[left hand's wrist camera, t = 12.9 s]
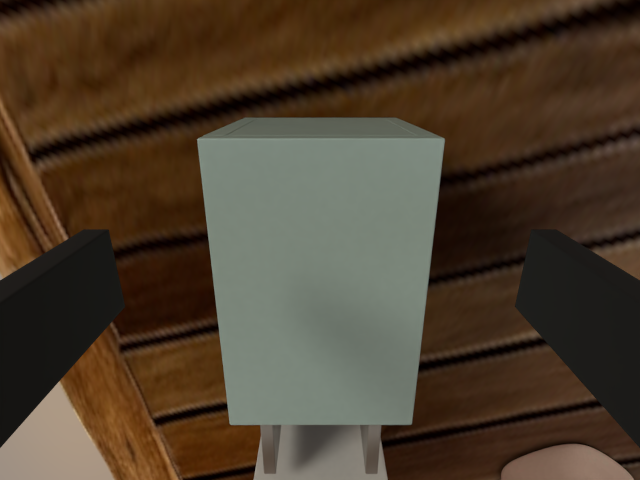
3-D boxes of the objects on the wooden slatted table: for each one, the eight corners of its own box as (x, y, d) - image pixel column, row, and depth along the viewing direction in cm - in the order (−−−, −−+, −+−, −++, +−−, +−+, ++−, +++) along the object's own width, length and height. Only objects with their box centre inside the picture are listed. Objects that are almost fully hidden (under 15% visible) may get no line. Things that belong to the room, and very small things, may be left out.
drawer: (369, 452, 37) (383, 561, 29) (271, 452, 37) (257, 561, 29) (382, 252, 29) (407, 320, 21) (259, 252, 29) (234, 320, 21)
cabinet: (383, 318, 33) (412, 425, 22) (258, 318, 33) (229, 425, 22) (397, 117, 27) (445, 138, 16) (244, 117, 27) (196, 138, 16)
